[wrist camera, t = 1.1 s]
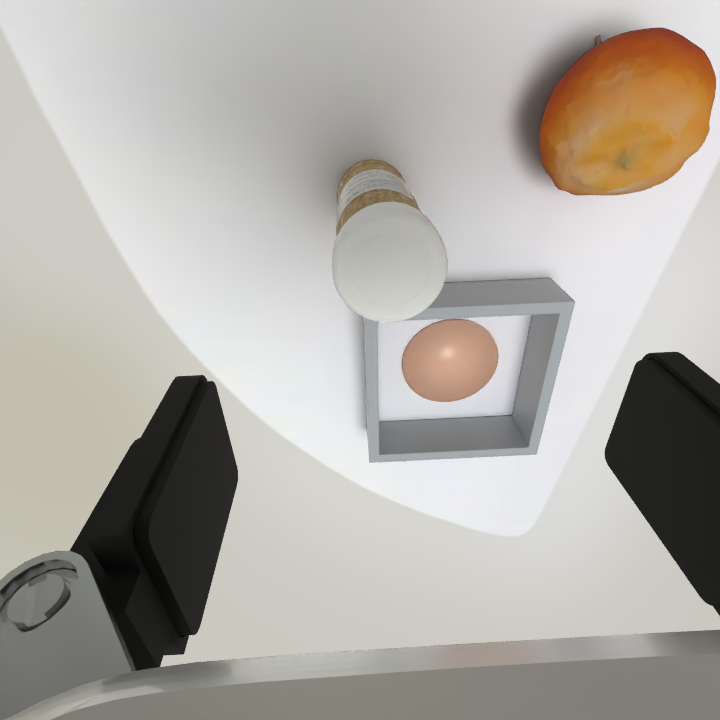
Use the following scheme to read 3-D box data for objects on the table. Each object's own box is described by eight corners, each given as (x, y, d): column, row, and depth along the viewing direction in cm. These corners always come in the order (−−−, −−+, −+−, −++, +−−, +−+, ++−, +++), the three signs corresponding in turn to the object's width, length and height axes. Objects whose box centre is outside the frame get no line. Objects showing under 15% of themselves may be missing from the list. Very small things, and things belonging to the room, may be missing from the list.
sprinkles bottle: (398, 236, 30) (433, 333, 18) (331, 225, 29) (324, 318, 18) (414, 164, 27) (465, 224, 16) (341, 150, 27) (340, 203, 15)
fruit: (732, 25, 23) (778, 121, 19) (611, 150, 30) (628, 238, 26) (603, -44, 21) (626, 46, 17) (507, 105, 28) (509, 192, 24)
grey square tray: (362, 286, 31) (364, 311, 28) (550, 277, 32) (575, 301, 28) (367, 429, 39) (369, 462, 35) (519, 421, 39) (536, 454, 36)
